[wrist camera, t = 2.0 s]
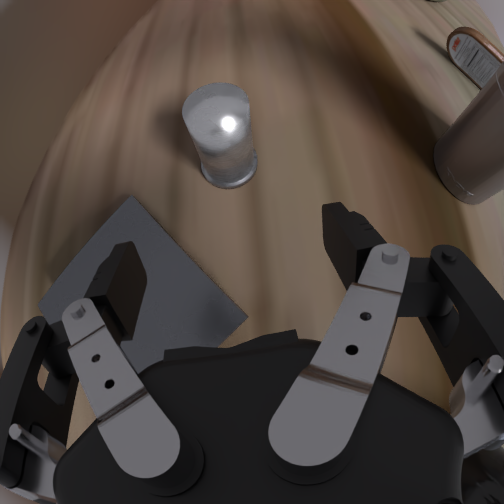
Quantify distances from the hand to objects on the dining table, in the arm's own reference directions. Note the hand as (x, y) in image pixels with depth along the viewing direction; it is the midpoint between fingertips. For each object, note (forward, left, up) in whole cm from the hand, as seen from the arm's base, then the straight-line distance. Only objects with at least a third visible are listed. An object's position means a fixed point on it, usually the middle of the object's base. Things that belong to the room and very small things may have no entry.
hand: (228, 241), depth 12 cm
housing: (-7, -10, -15) cm, 19 cm away
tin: (-47, +4, -15) cm, 49 cm away
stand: (+9, -5, -15) cm, 18 cm away
